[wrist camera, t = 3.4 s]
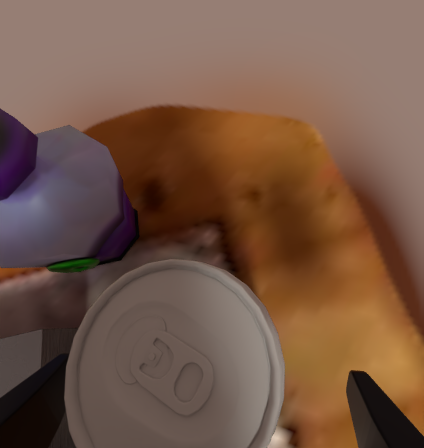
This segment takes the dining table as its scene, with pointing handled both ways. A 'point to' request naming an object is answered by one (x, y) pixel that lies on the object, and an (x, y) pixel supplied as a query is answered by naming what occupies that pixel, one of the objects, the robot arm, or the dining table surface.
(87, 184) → the potion bottle
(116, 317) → the beverage can
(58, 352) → the block
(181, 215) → the dining table surface
